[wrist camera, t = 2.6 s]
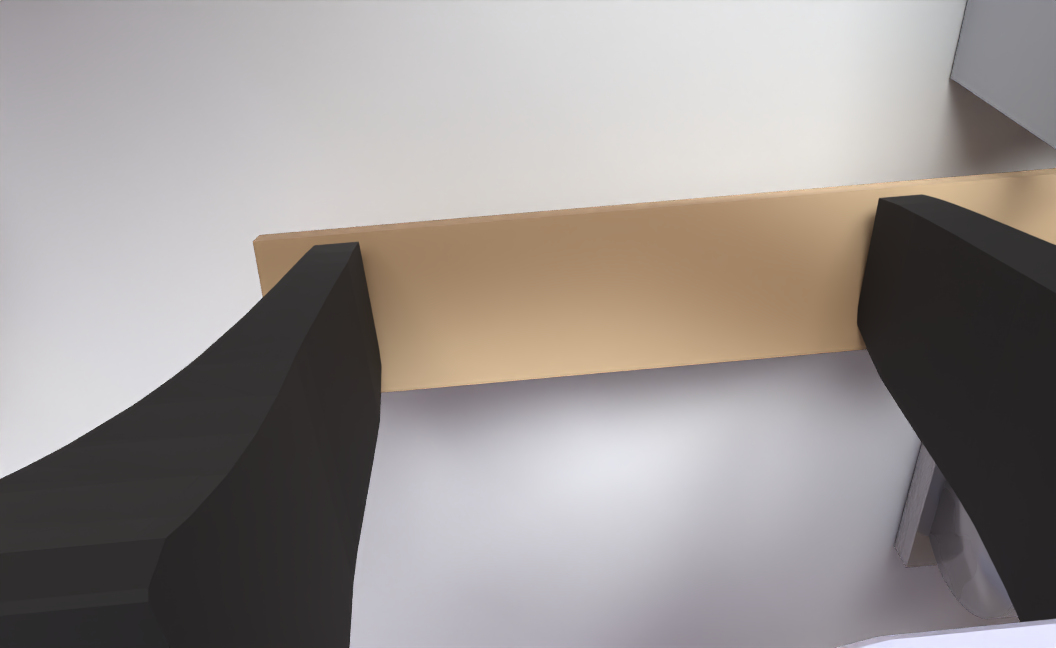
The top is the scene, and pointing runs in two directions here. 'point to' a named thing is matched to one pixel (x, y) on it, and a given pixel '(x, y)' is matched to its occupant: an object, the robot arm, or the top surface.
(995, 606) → the fulcrum
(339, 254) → the robot arm
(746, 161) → the top surface
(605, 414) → the top surface
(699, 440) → the top surface
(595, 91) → the top surface
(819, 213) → the ramp
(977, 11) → the tray
